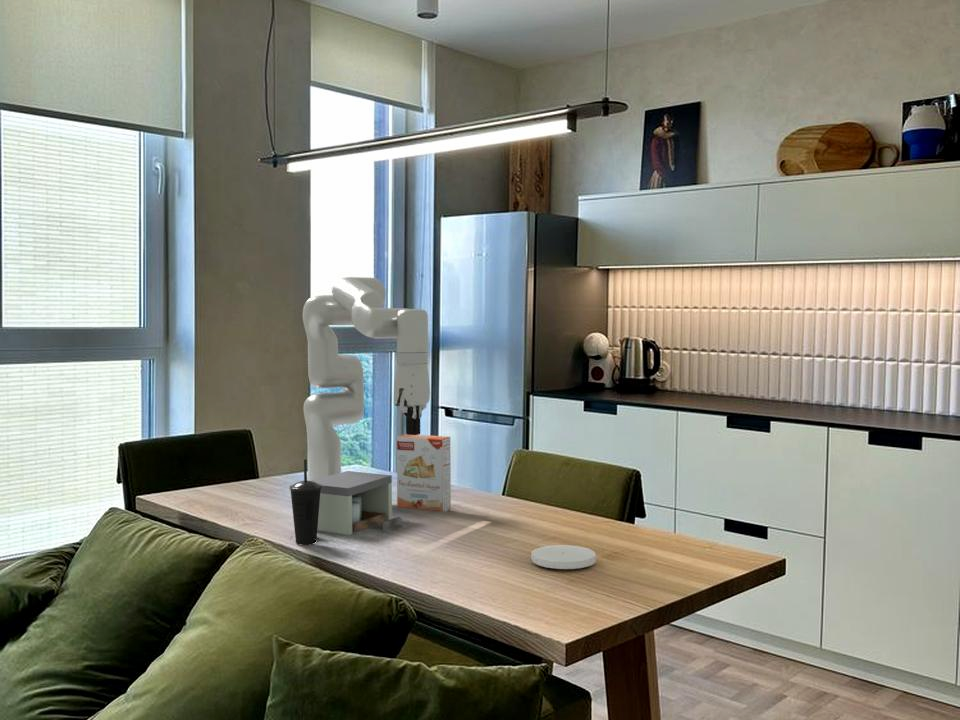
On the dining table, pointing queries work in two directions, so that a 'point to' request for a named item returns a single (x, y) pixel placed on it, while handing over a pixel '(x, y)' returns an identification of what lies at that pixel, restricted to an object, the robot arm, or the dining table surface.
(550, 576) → the dining table surface
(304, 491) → the drinking cup
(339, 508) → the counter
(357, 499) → the pale tall cylinder
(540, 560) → the plastic lid
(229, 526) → the dining table surface
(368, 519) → the tray
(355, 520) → the pale blue cylinder
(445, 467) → the cracker box
